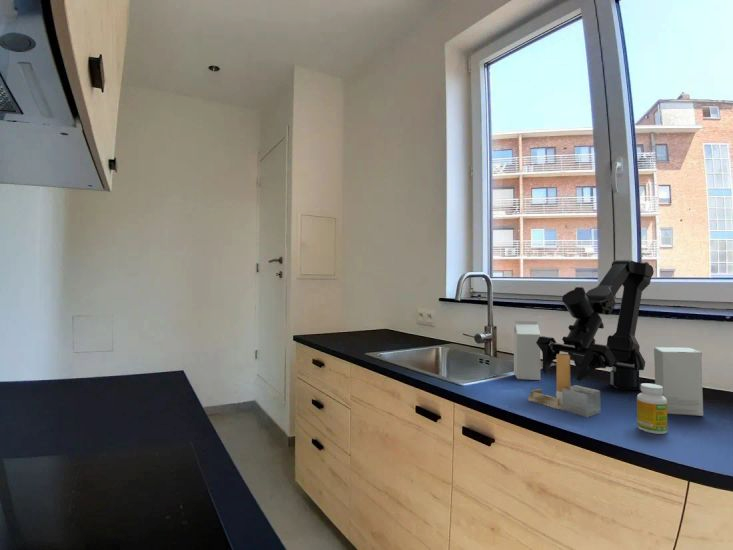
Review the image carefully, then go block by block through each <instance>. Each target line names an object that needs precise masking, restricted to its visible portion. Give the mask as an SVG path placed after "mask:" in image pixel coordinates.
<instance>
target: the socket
mask: <svg viewBox="0 0 733 550" xmlns="http://www.w3.org/2000/svg"><path fill="white" fill-rule="evenodd" d="M563 410H564V411H563ZM563 410H562V411H563V412H566V411H567V413H570V412H571V413H570V414H573V413H574V414H573V415H576V414H578V415H577V416H580V415H581V416H580V417H583V416H584V417H583V418H586V417H587V418H590V417H592V416H595V415H598V414H601V390H598V389H594V388H591V387H585V386H582V385H577V384H576V385H570V387H567V388H563ZM589 416H590V417H589Z"/></svg>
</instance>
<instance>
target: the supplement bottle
mask: <svg viewBox="0 0 733 550" xmlns="http://www.w3.org/2000/svg"><path fill="white" fill-rule="evenodd" d="M640 388H641V390H640V391H641V392H640V393H638V394H637V396H636V422H637V423H636V424H637V425H636V426H637V428H638V429H639V430H641V431H642V430H643V432H645V433H650V434H655V435H663V434H664V435H665V434H667V433H668V414H667V399H666V398H665V397H664V396H662V394H663V387H662V386H660V385H656V384H655V383H648V382H647V383H646V382H645V383H640Z"/></svg>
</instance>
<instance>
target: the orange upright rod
mask: <svg viewBox="0 0 733 550" xmlns="http://www.w3.org/2000/svg"><path fill="white" fill-rule="evenodd" d="M555 360H556V363H555V364H556V367H555V368H556V371H555V372H556V373H555V374H556V390H555V394H556V397H555V398H558V399H559V404H561V405H563V388H567V387H571V360H570V355H568V353H559V354H556V359H555Z"/></svg>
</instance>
